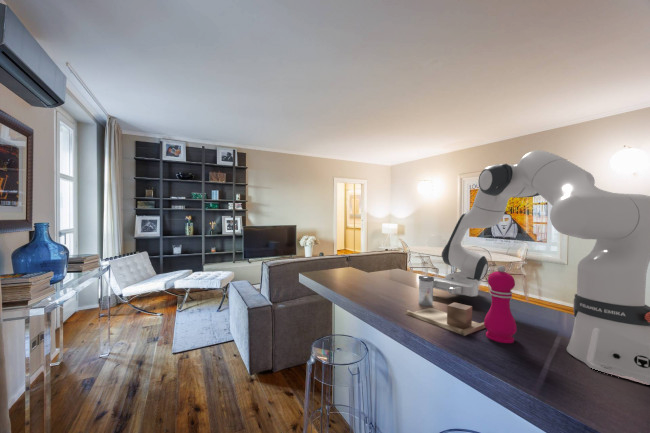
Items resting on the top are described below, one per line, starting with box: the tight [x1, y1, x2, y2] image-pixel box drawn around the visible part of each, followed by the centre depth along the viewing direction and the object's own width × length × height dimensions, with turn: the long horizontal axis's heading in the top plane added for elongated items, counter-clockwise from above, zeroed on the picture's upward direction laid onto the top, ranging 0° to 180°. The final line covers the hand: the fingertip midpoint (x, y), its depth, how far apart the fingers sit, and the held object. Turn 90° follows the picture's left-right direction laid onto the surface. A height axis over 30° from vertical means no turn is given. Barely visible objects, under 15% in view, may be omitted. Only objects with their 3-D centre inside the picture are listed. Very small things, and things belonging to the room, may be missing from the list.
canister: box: [418, 275, 435, 307], centre depth 100 cm, size 5×5×11 cm
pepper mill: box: [483, 265, 518, 344], centre depth 72 cm, size 7×7×20 cm
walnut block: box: [446, 301, 473, 330], centre depth 79 cm, size 5×5×6 cm
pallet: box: [405, 307, 486, 336], centre depth 84 cm, size 19×13×2 cm
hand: (439, 288), depth 106 cm, fingers open, 8 cm apart
